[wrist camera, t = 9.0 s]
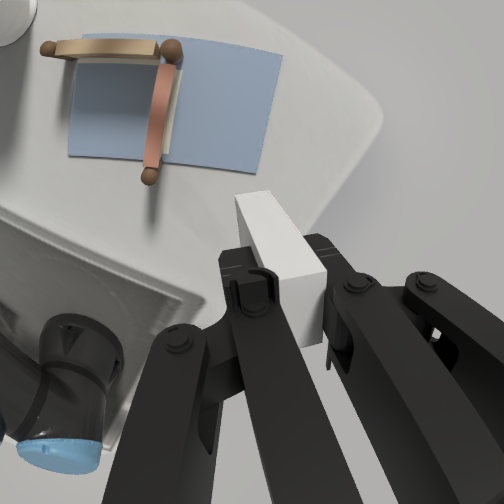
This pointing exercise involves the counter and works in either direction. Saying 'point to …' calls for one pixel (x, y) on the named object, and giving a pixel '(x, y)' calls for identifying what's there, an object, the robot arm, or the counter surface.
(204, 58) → the card
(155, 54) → the brown wall panel
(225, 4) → the counter surface
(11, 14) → the jar
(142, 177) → the swing panel
